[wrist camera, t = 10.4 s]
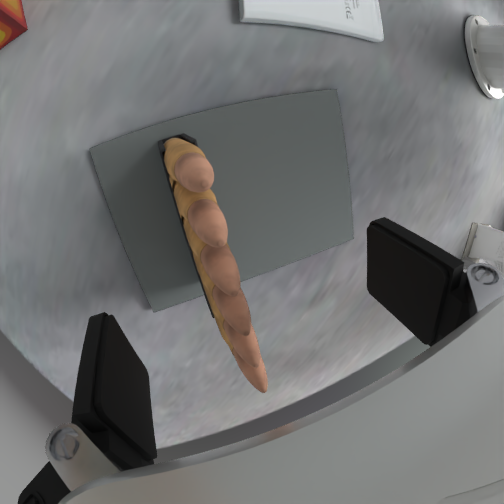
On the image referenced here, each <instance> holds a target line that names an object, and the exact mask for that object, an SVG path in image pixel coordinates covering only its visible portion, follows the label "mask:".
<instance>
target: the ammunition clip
mask: <svg viewBox="0 0 504 504" xmlns="http://www.w3.org/2000/svg"><path fill="white" fill-rule="evenodd" d="M158 148H159V152H160V156H161V159H162V163H163V167H164V170H165V174H166V177H167V181H168V184H169V188H170V191H171V194H172V198H173V201H174V204H175V208H176V211H177V214H178V217H179V221H180V224H181V227H182V230H183V233H184V236H185V239H186V242H187V246H188V249H189V252H190V255H191V258H192V261H193V264H194V267H195V269H196V272H197V275H198V278H199V281H200V284H201V287H202V290H203V292H204V295H205V298H206V301H207V304H208V306H209V309H210V312H211V315H212V317H213V318H215V320H216V322H217V325H218V328H219V330H220V333H221V335H222V337H223V339H224V340H225V342H226V343H227V344H228V345H229V347H230V350H231V352H232V354H233V355H234V357H235V359H236V361H237V363H238V366H239V367H240V369H241V371H242V372H243V374H244V375H245V377H246V378H247V379H248V381H249V382H250V383H251V384H252V385H253V386H254V387H255V388H256V389H258V390H259V391H260V392H262V393H265V392H266V391H267V385H268V382H267V374H266V370H265V366H264V363H263V360H262V357H261V354H260V350H259V345H258V341H257V337H256V334H255V331H254V329H253V326H252V324H251V317H250V311H249V307H248V304H247V301H246V298H245V296H244V294H243V292H242V290H241V288H240V274H239V270H238V266H237V263H236V260H235V258H234V256H233V254H232V252H231V251H230V247H229V245H228V244H227V237H228V228H227V223H226V220H225V217H224V215H223V213H222V211H221V210H220V208H219V206H218V204H217V201H216V197H215V194H214V193H213V192H212V190H211V189H210V187H211V186H212V184H213V182H214V172H213V168H212V166H211V164H210V163H209V161H208V160H207V159H206V157H205V154H204V153H203V152H202V150H201V149H200V148H198V144H197V140H196V139H194V138H192V137H190V136H188V135H186V134H185V133H182V134H179V135H175V136H172V137H168V138H165V139H162V140H159V141H158Z"/></svg>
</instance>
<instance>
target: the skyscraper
mask: <svg viewBox="0 0 504 504" xmlns="http://www.w3.org/2000/svg"><path fill="white" fill-rule="evenodd" d="M479 259H483V260H484V261H485V262H486V263H487V264H488V265H491V266H493V267H495V268H496V269H497V270H498V271H500V273H501V274H502V276H503V278H504V231H501V230H498V229H495V228H492V227H491V226H490V225H487V224H478V223H472V226H471V229H470V233H469V237H468V240H467V243H466V247H465V250H464V253H463V256H462V259H461V261H463V262H464V267H463V268H464V269H466V270H467V269H468V267H469V266H470V265H472V264H475V263H478V262H479Z"/></svg>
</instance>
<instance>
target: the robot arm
mask: <svg viewBox="0 0 504 504" xmlns="http://www.w3.org/2000/svg"><path fill="white" fill-rule="evenodd" d="M465 43H466V48H467V53H468V57H469V61H470V64H471V68H472V71H473V73H474V76H475V78H476V80H477V82H478V84H479V86H480V88H481V89H482V91H483V92H484V93H485V94H486V95H487V96H488V97H489V98H492V99H500V98H501V97H502V96H503V95H504V25H490V24H489V23H488V21H487V20H486V19H484V18H483V17H481V16H479V15H473V16H470V17H469V18H468V19H467V21H466V24H465ZM463 267H464V262H463V261H461V260H459V259H458V258H456V257H454V256H453V255H451V254H450V253H448V252H446V251H444V250H443V249H441V248H439V247H438V246H436V245H434V244H433V243H431V242H429V241H427V240H426V239H424V238H422V237H420V236H419V235H417V234H415V233H413V232H411V231H410V230H408V229H406V228H404V227H402V226H400V225H399V224H397V223H395V222H393V221H391V220H389V219H387V218H385V217H383V218H380V219H377V220H375V221H372V222H371V223H370V225H369V227H368V228H367V289H368V291H369V293H370V294H371V295H372V296H373V297H374V298H375V299H376V300H377V301H378V302H380V303H381V304H382V305H383V306H384V307H385V308H386V309H387V310H388V311H389V312H390V313H392V314H393V315H394V316H395V317H396V318H397V319H398V320H399V321H400V322H401V323H402V324H403V325H405V326H406V327H407V328H408V329H409V330H410V331H411V332H412V333H413V334H414V335H415V336H416V337H417V338H418V339H420V341H422V342H423V343H424V344H428V345H429V346H430V348H429V349H427V350H426V351H424V352H423V353H421V354H420V355H418V356H417V357H415V358H414V359H413V360H411V361H409V362H408V363H406V364H404V365H403V366H401V367H400V368H398V369H396V370H394V371H393V372H391V373H390V374H388V375H386V376H384V377H383V378H381V379H379V380H377V381H376V382H374V383H372V384H370V385H369V386H367V387H365V388H363V389H362V390H359V391H357V392H356V393H354V394H352V395H350V396H348V397H346V398H344V399H342V400H340V401H338V402H336V403H334V404H332V405H330V406H328V407H325V408H323V409H321V410H319V411H317V412H314V413H313V414H310V415H308V416H305V417H303V418H301V419H298V420H296V421H294V422H291V423H289V424H286V425H284V426H281V427H279V428H276V429H274V430H271V431H269V432H266V433H263V434H260V435H258V436H255V437H252V438H249V439H246V440H243V441H240V442H237V443H234V444H230V445H227V446H224V447H221V448H217V449H214V450H211V451H207V452H203V453H199V454H196V455H192V456H188V457H184V458H180V459H176V460H172V461H167V462H163V463H158V464H154V461H153V459H155V458H157V451H156V443H155V436H154V427H153V419H152V409H151V398H150V386H149V375H148V372H147V369H146V367H145V366H144V364H143V363H142V361H141V360H140V358H139V357H138V355H137V354H136V352H135V351H134V349H133V347H132V346H131V344H130V343H129V341H128V339H127V338H126V336H125V334H124V333H123V331H122V329H121V328H120V326H119V324H118V323H117V321H116V319H115V318H114V316H113V315H108V314H107V313H105V312H104V313H101V314H98V315H94V316H91V317H90V318H89V322H88V326H87V330H86V335H85V340H84V344H83V349H82V354H81V360H80V365H79V370H78V376H77V383H76V389H75V396H74V405H73V413H72V422H71V423H64V424H61V425H59V426H57V427H56V428H55V429H53V431H52V432H51V433H50V434H49V436H48V438H47V440H46V446H45V449H46V455H47V457H48V459H49V462H48V463H47V464H46V465H45V466H44V468H43V469H42V470H41V471H40V472H39V473H38V474H37V475H36V476H35V478H34V479H33V480H32V481H31V482H30V483H29V484H28V485H27V487H26V488H25V489H24V490H23V491H22V493H21V494H20V496H19V499H18V504H504V279H503V276H502V274H501V273H500V271H498V270H497V269H496V268H495V267H493V266H491V265H488V264H485V263H475V264H472V265H470V266H469V267H468V269H467V271H466V273H465V272H463Z"/></svg>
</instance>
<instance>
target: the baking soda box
mask: <svg viewBox="0 0 504 504" xmlns="http://www.w3.org/2000/svg"><path fill="white" fill-rule="evenodd" d="M26 30H28V29H27V25H26V20H25V16H24V11H23V6H22V1H21V0H0V49H1V48H3V47H4V46H5V45H7V44H8V43H9V42H11V41H12V40H13V39H15V38H16V37H18V36H19V35H21V34H22V33H23V32H25V31H26Z"/></svg>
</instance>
